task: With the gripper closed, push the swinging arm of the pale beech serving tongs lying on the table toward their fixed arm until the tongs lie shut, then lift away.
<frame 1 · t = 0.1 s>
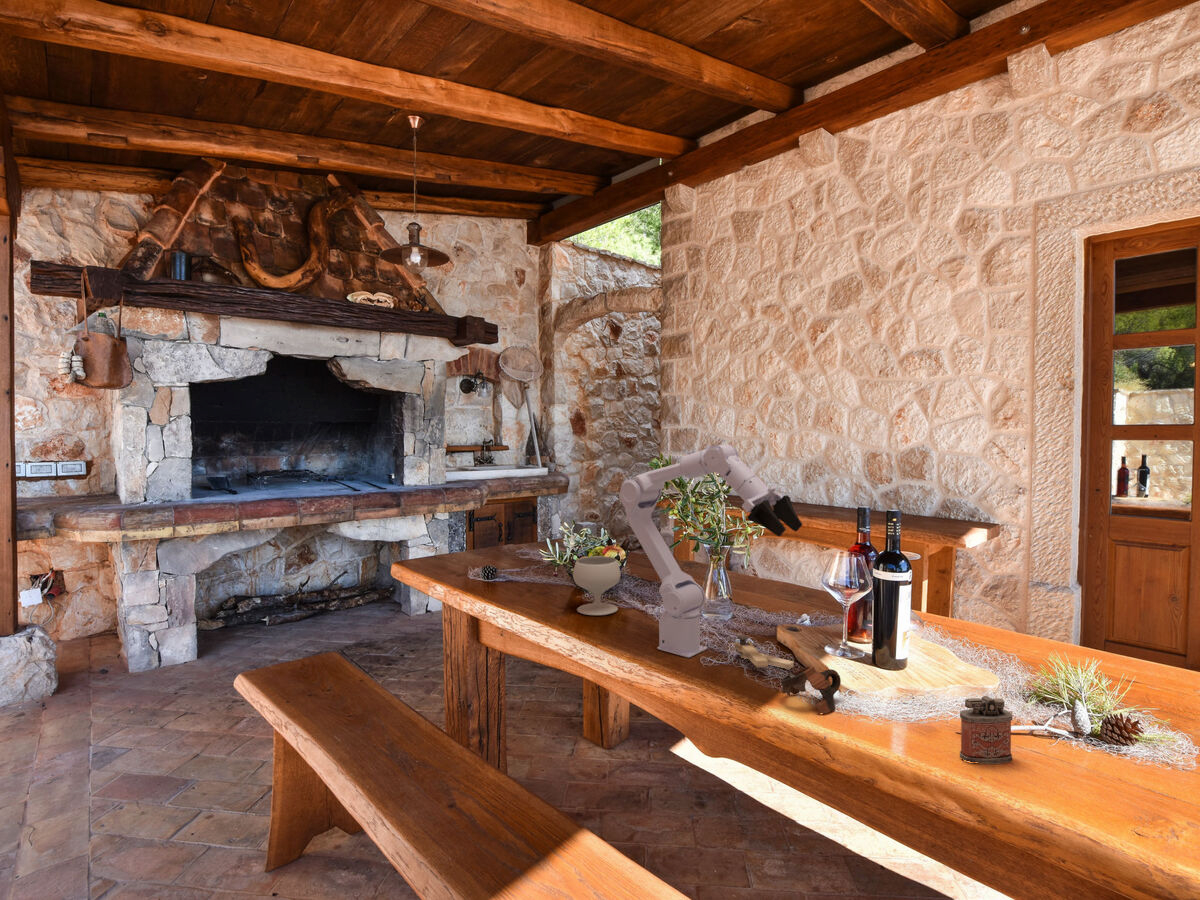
hand: (790, 530, 137), 32 cm above the table, tool tilted 50°, fingers open, 7 cm apart
tongs base: (743, 656, 152), on the table
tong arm: (751, 653, 146), point 3 cm above the table, hinge at 40.0°
dark brown angled piece: (813, 704, 126), on the table
chalice: (597, 611, 191), on the table
lighter: (985, 759, 105), on the table
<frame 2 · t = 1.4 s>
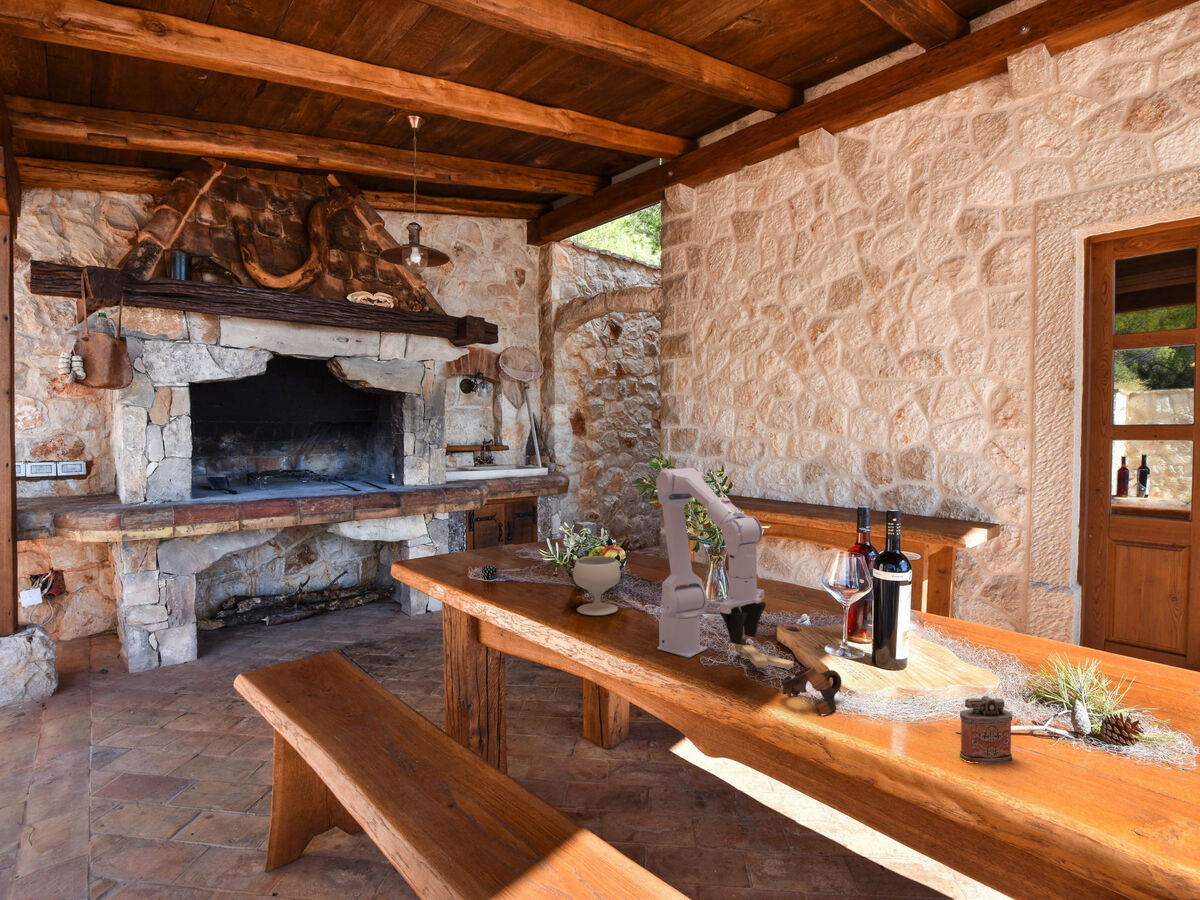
hand: (743, 639, 136), 9 cm above the table, tool pointing down, fingers open, 5 cm apart
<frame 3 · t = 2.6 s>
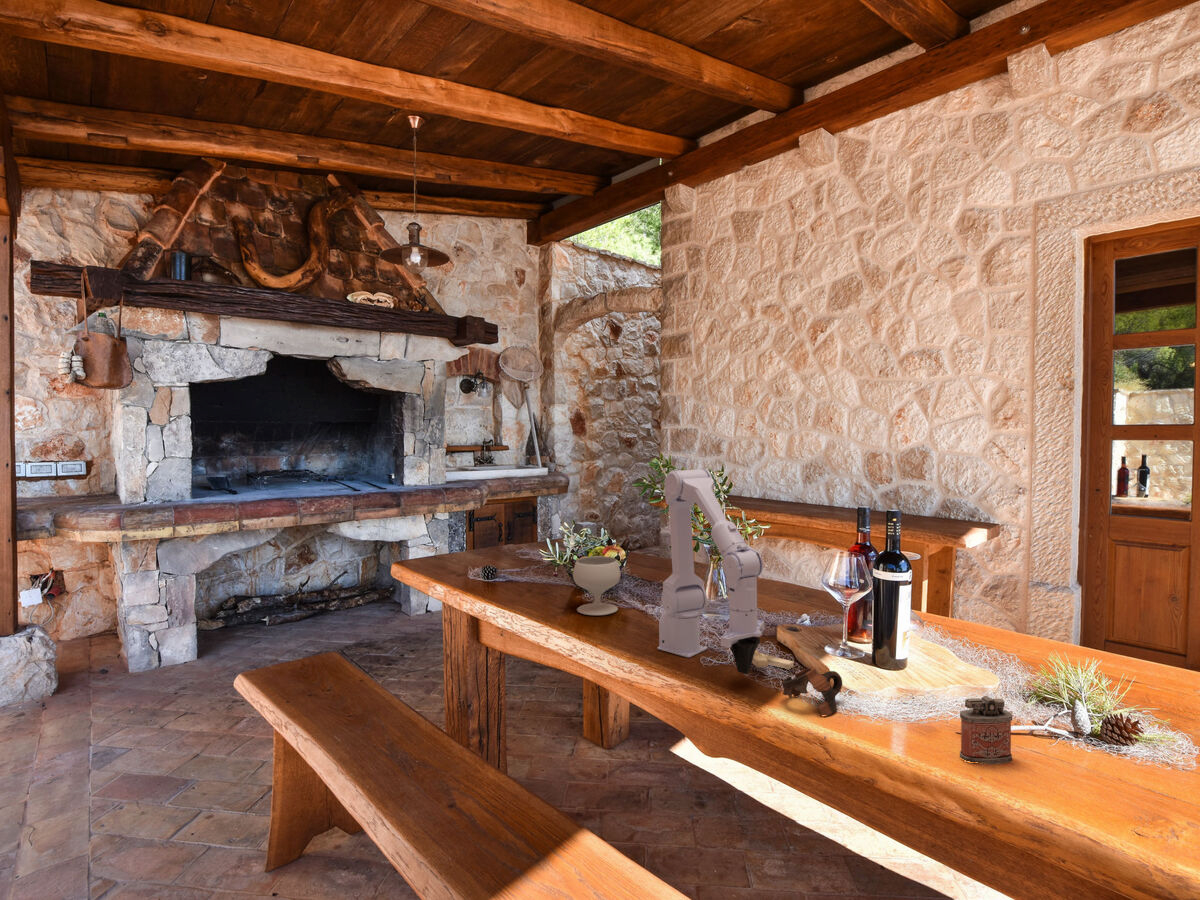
hand: (743, 672, 136), 2 cm above the table, tool pointing down, fingers closed
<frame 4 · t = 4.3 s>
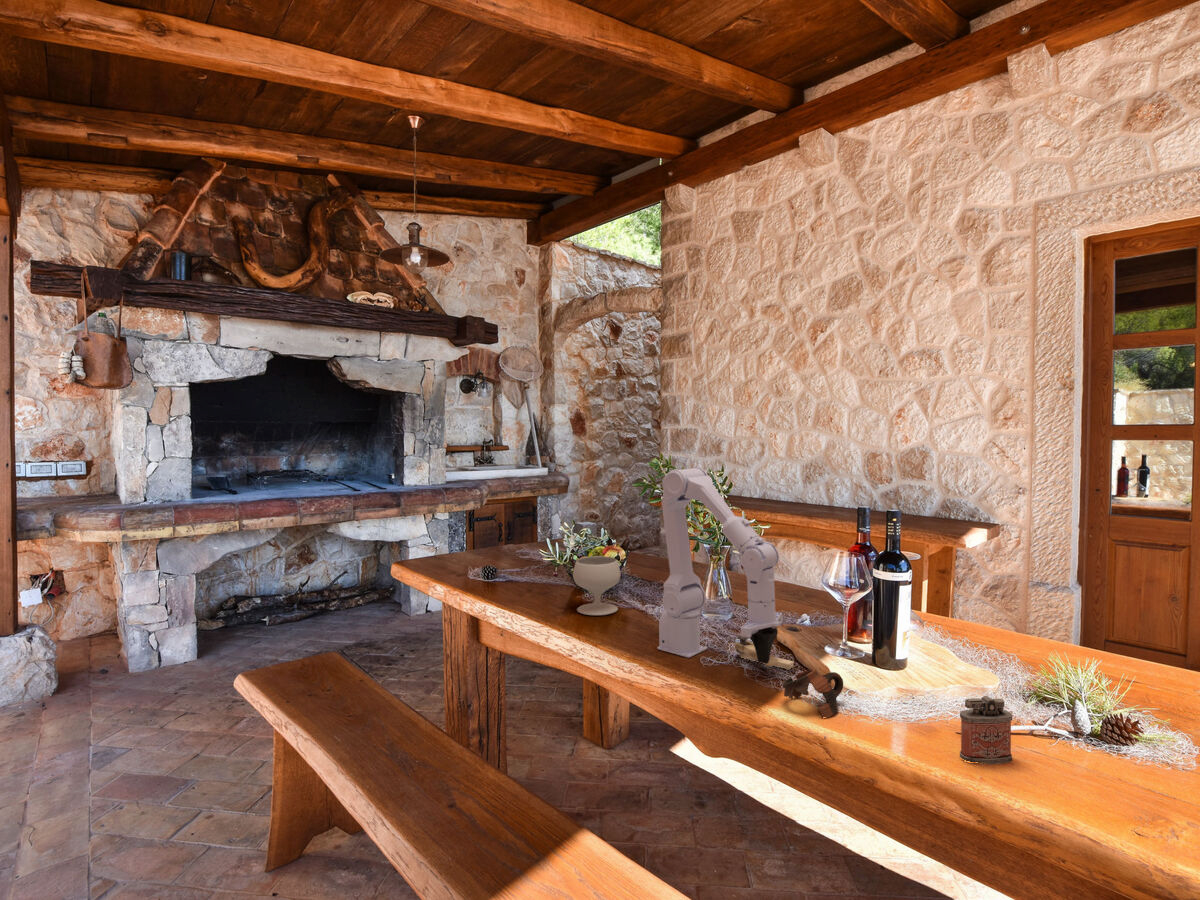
hand: (763, 662, 141), 3 cm above the table, tool pointing down, fingers closed, pressing on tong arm
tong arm: (756, 653, 146), point 3 cm above the table, hinge at 27.9°, touching gripper
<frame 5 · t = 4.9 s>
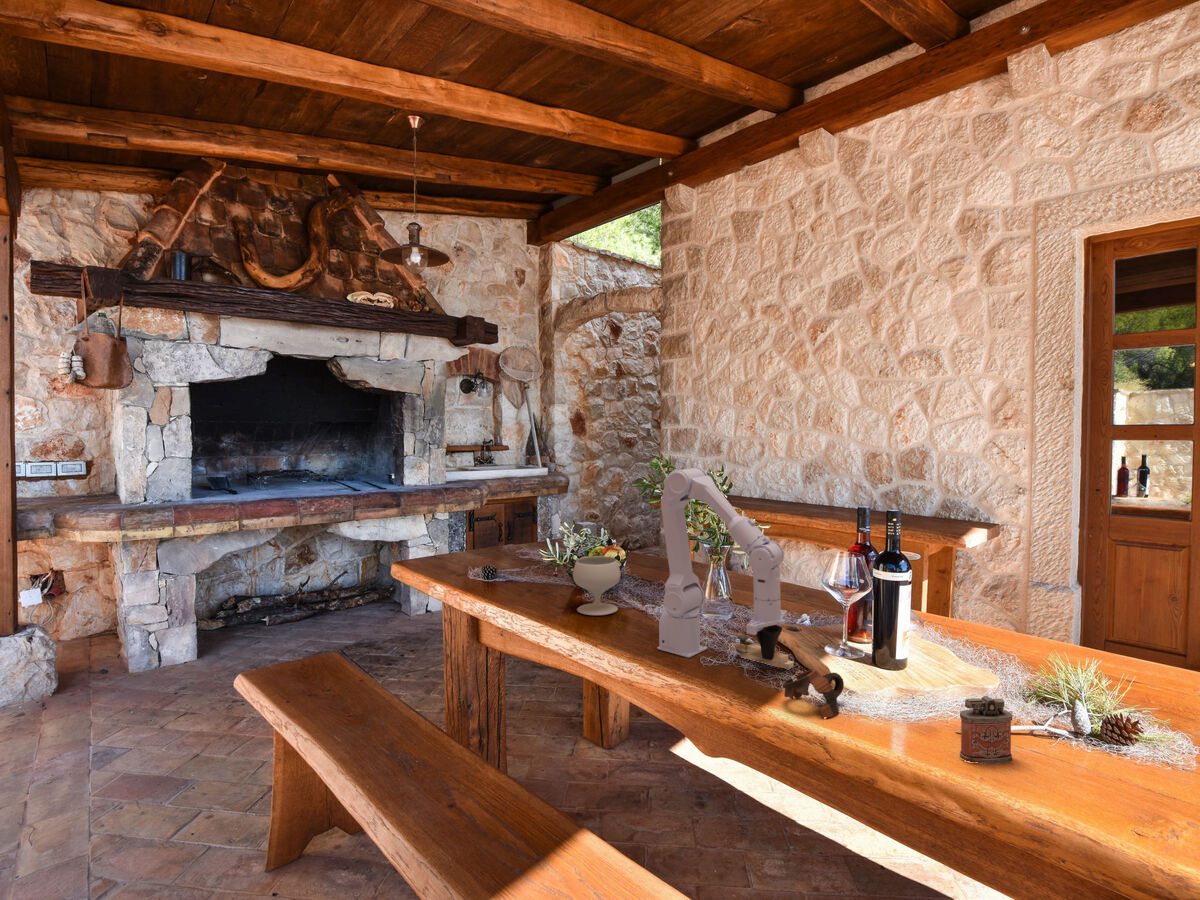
hand: (768, 658, 143), 3 cm above the table, tool pointing down, fingers closed, pressing on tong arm
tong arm: (762, 651, 147), point 3 cm above the table, hinge at 12.1°, touching gripper
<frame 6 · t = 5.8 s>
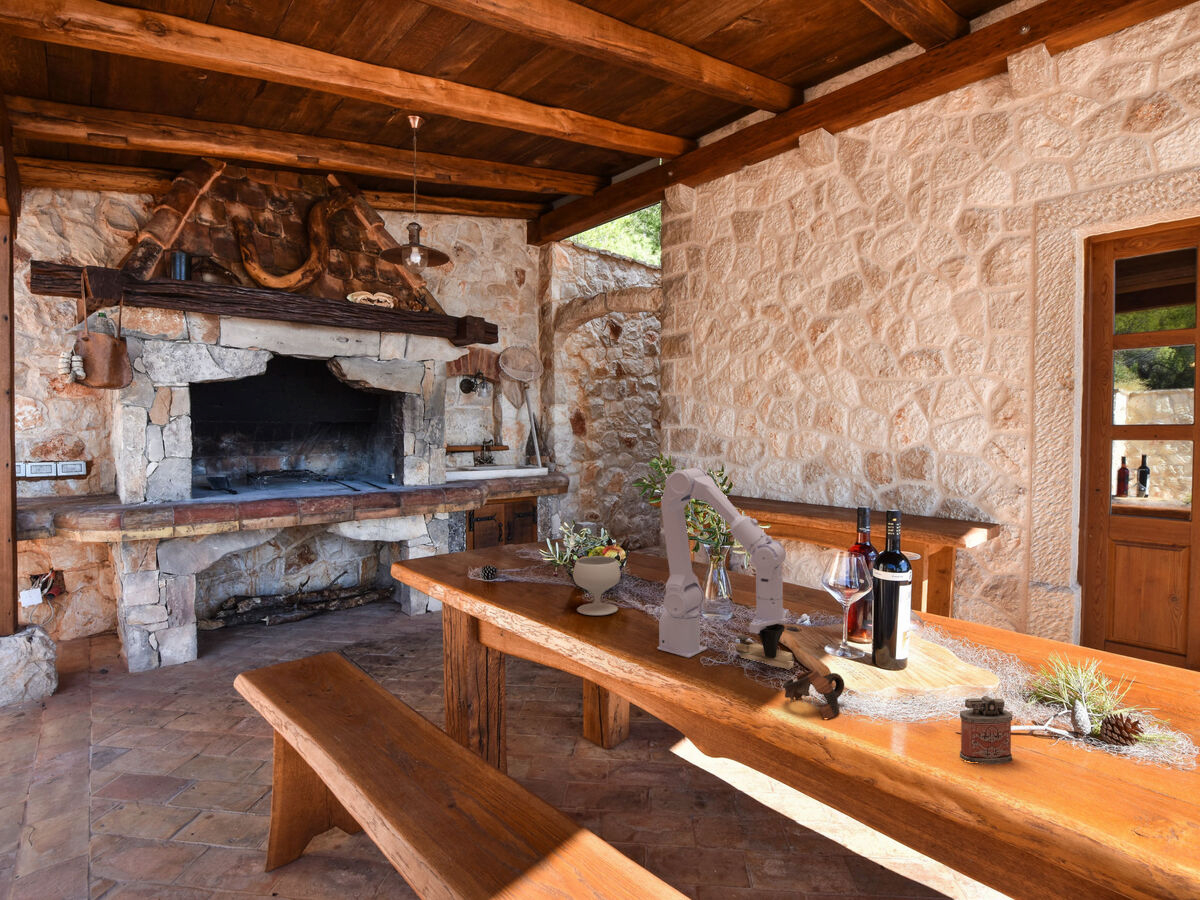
hand: (770, 657, 144), 2 cm above the table, tool pointing down, fingers closed, pressing on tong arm
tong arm: (764, 650, 147), point 3 cm above the table, hinge at 3.6°, touching gripper
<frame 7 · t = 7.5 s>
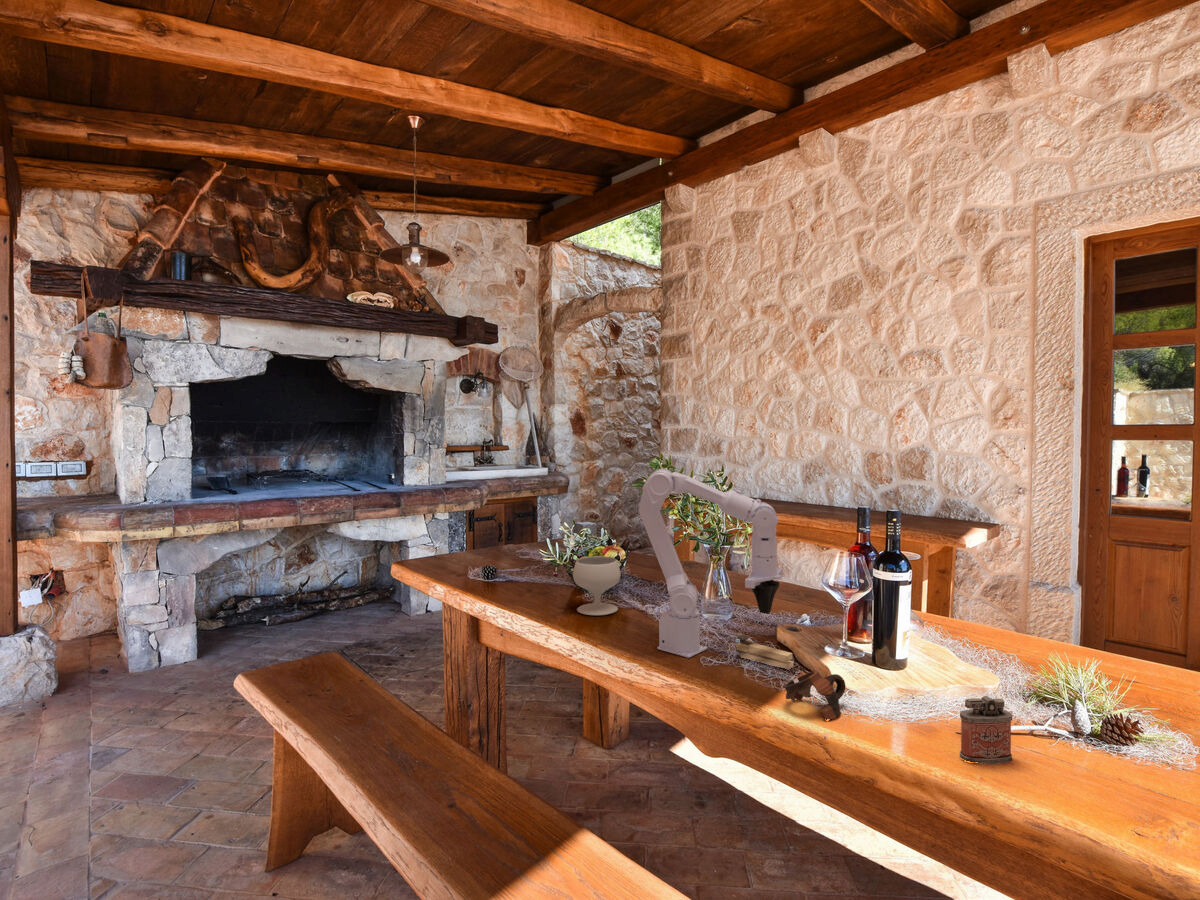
hand: (764, 612, 153), 10 cm above the table, tool pointing down, fingers closed
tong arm: (764, 650, 147), point 3 cm above the table, hinge at 3.2°
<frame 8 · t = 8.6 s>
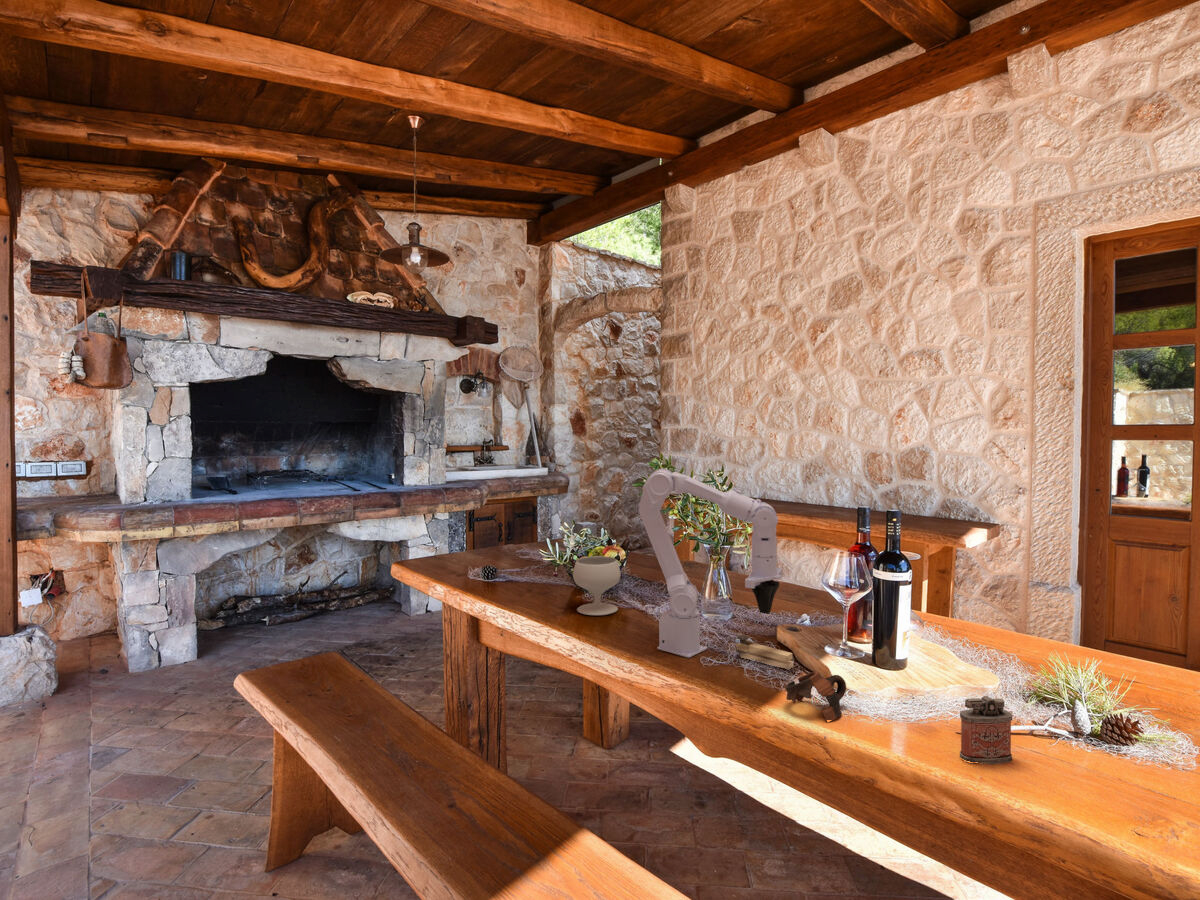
hand: (764, 612, 153), 10 cm above the table, tool pointing down, fingers closed
at the end: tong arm at +3° (first picture: +40°); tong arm touching nothing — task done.
